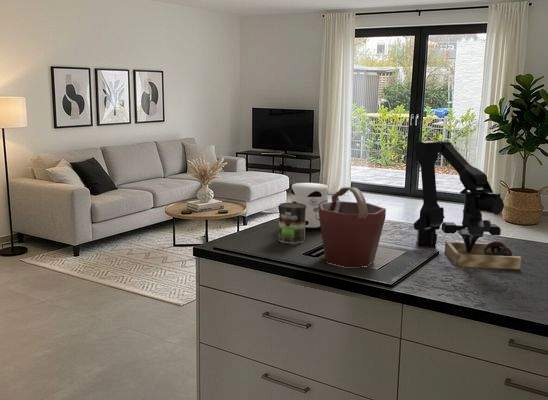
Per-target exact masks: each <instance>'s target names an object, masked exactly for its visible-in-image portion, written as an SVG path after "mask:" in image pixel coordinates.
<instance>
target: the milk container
mask: <svg viewBox="0 0 548 400" xmlns="http://www.w3.org/2000/svg"><path fill="white" fill-rule="evenodd" d="M290 190H291V192H290V193H291V194H290V201H291V202H290V203H301V204H304V205H306V218H305V230H321V226H320V219H319V204H322V203H329V186H328V185H327V184H324V183H317V182H297V183H293V184H291V189H290Z"/></svg>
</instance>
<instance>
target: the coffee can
mask: <svg viewBox="0 0 548 400" xmlns="http://www.w3.org/2000/svg"><path fill="white" fill-rule="evenodd" d="M278 207H279V210H278V211H279V213H278V239H279V241H281V242H285V243H300V242H303V241H304V240H305V239H306V237H305V236H306V235H305V234H306V229H305V218H306V205H304V204H301V203H291V202H282V203H279V205H278ZM279 241H278V242H279ZM281 242H280V243H281ZM285 243H284V244H285Z"/></svg>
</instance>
